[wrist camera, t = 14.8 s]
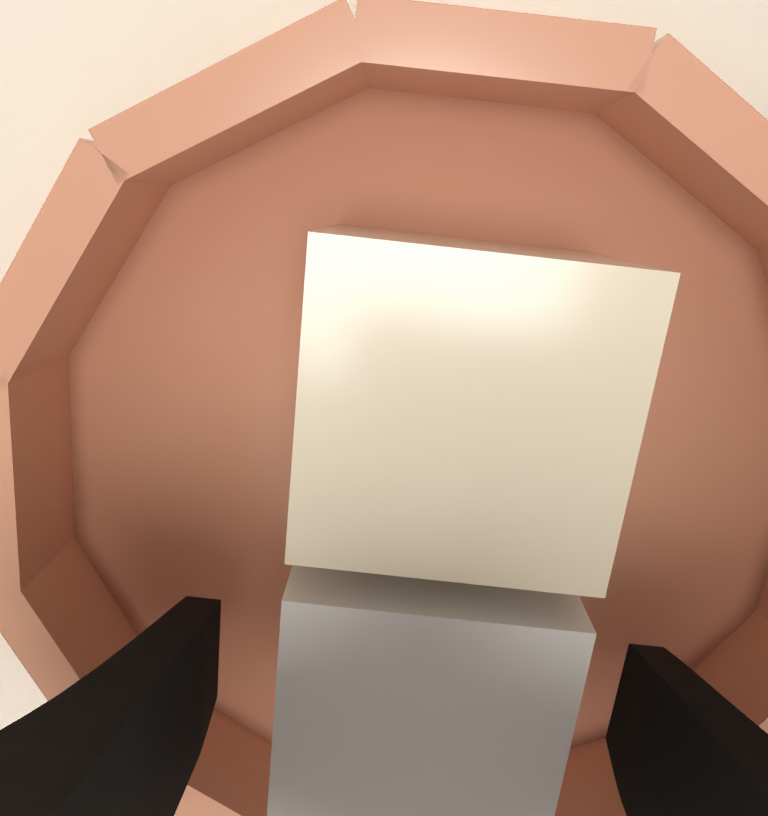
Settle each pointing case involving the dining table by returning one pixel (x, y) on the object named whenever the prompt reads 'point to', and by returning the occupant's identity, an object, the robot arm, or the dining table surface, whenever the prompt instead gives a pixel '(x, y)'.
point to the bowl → (281, 330)
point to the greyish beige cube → (423, 696)
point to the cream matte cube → (470, 407)
